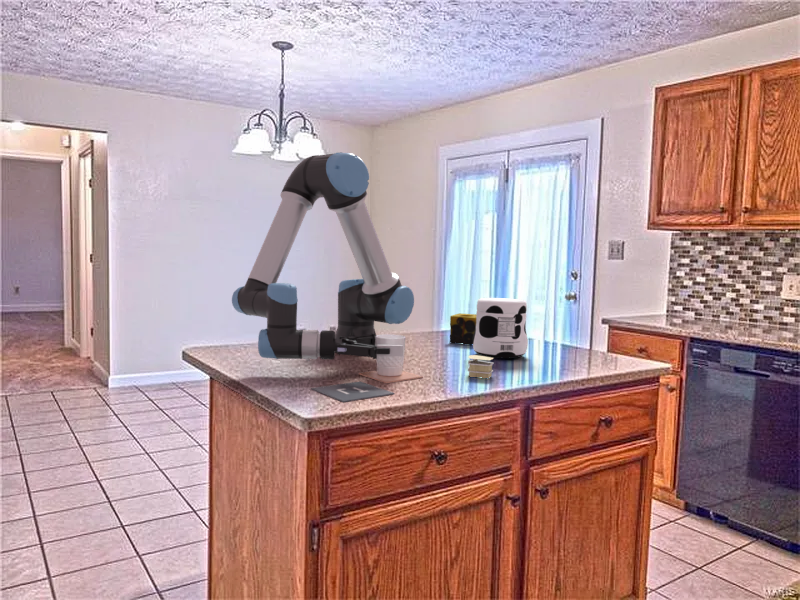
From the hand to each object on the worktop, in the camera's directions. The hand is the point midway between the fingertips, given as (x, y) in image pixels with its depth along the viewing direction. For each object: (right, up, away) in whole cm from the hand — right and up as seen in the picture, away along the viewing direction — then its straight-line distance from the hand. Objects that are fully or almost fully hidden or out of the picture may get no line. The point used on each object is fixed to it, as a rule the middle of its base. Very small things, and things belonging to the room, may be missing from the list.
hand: (401, 346), depth 163 cm
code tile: (-11, -9, -18) cm, 23 cm away
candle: (+24, -4, +61) cm, 65 cm away
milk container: (+31, -6, +35) cm, 47 cm away
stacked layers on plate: (+21, -9, +4) cm, 23 cm away
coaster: (-3, -8, +1) cm, 8 cm away
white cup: (-3, -8, +2) cm, 8 cm away
